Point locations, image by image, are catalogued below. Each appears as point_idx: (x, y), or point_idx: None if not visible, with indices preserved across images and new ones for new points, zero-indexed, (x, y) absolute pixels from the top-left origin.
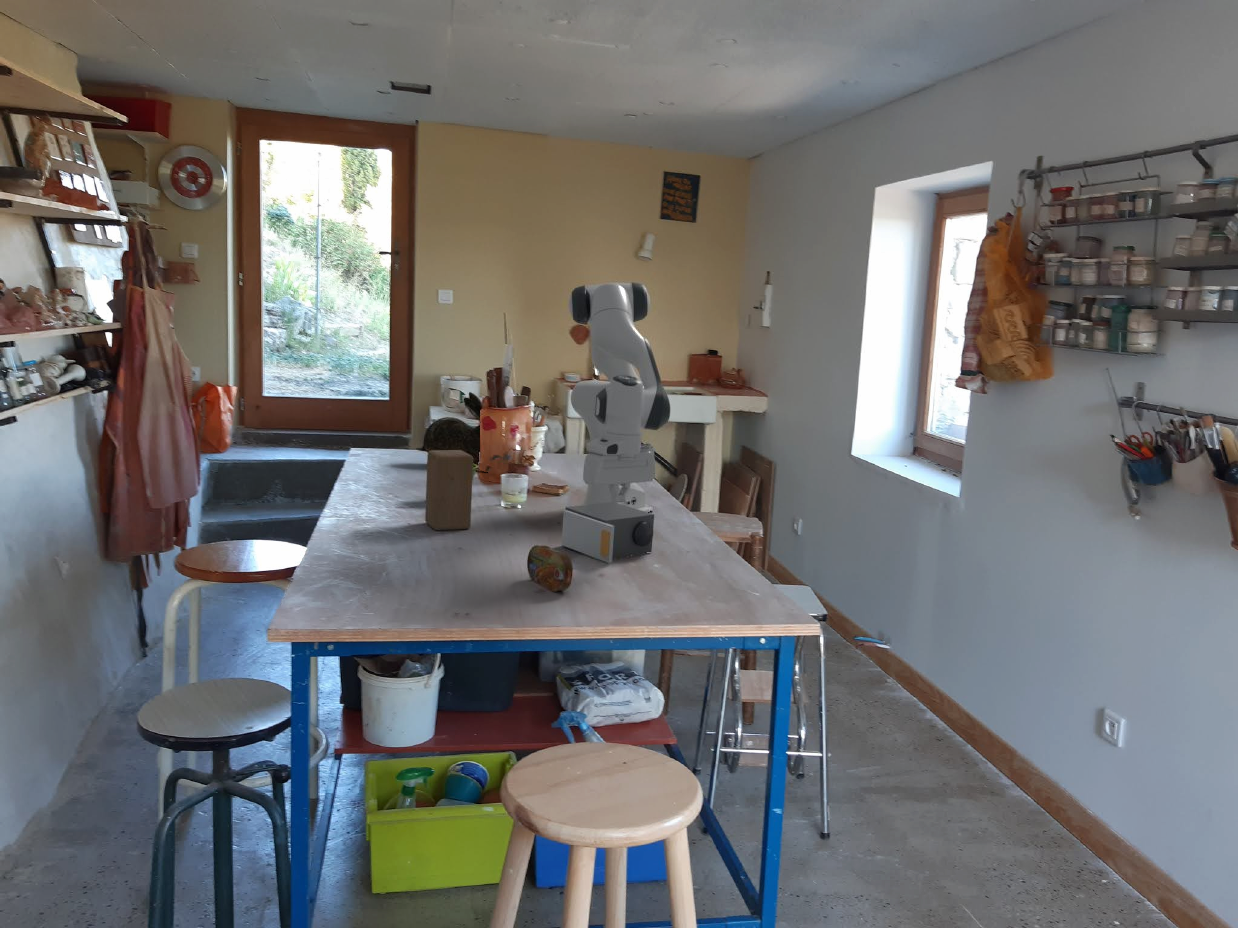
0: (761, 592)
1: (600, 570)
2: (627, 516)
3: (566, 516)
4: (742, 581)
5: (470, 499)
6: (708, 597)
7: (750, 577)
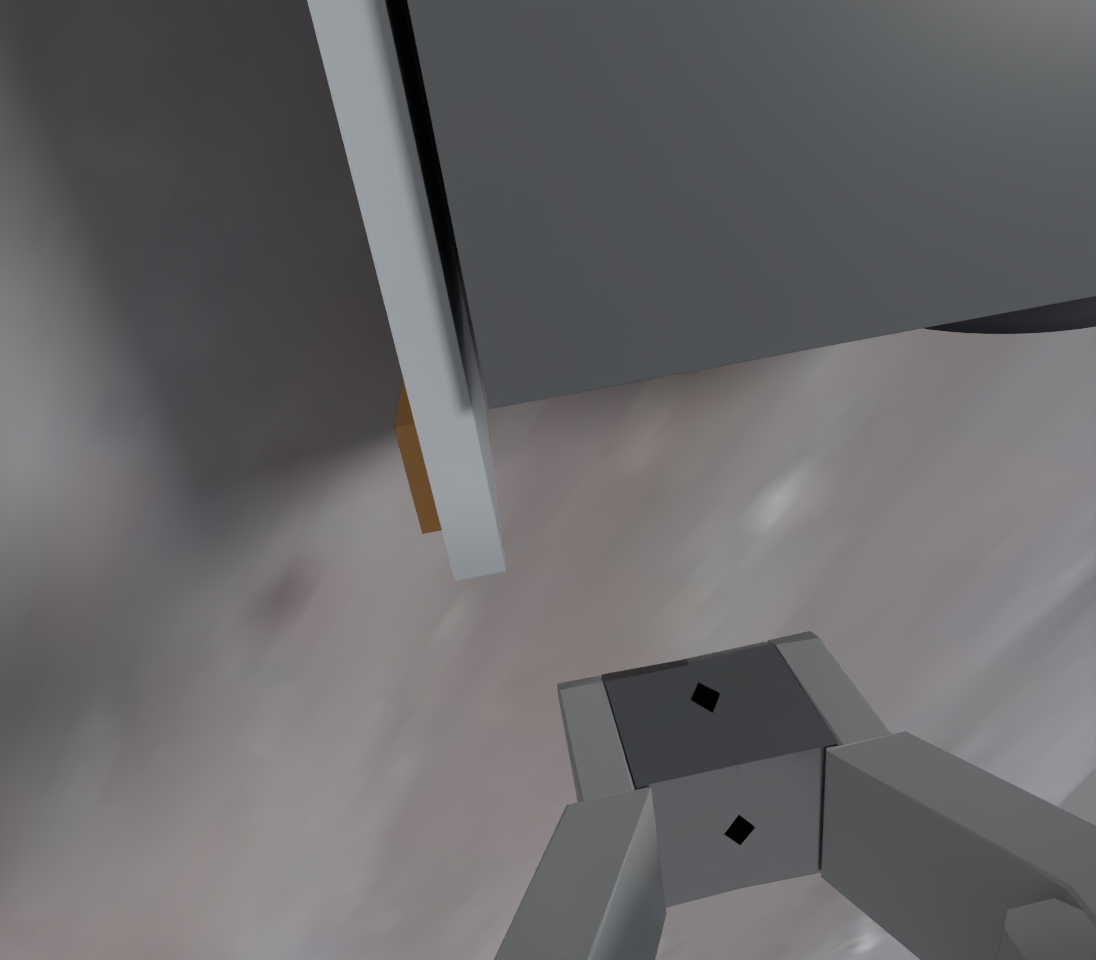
0: None
1: (323, 506)
2: (967, 246)
3: None
4: None
5: None
6: None
7: (1057, 784)
